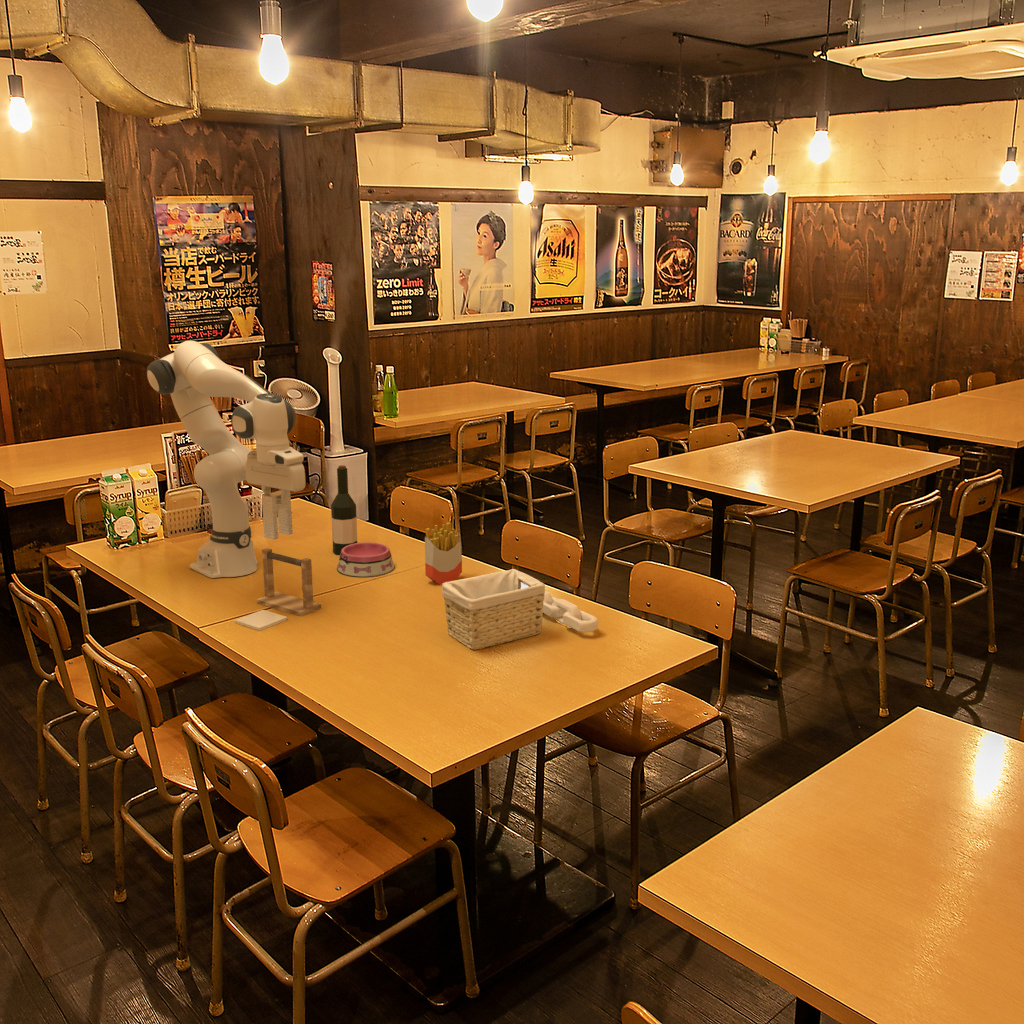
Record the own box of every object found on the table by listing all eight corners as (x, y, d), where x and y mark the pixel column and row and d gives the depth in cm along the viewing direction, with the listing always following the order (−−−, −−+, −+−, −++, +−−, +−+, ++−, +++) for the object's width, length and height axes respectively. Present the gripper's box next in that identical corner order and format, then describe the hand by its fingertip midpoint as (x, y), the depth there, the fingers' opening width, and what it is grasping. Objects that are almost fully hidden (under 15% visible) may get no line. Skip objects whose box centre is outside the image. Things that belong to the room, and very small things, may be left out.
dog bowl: (404, 571, 310) (404, 551, 308) (351, 582, 300) (351, 561, 298) (379, 557, 325) (378, 537, 323) (327, 566, 315) (326, 546, 313)
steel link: (264, 537, 268) (261, 495, 265) (282, 531, 274) (280, 490, 271) (274, 539, 266) (271, 497, 263) (292, 533, 272) (290, 492, 269)
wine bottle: (327, 552, 329) (324, 466, 321) (347, 547, 334) (344, 462, 327) (343, 557, 323) (339, 469, 315) (362, 552, 329) (359, 466, 321)
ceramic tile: (234, 622, 266) (234, 620, 265) (262, 612, 273) (262, 609, 273) (259, 630, 260) (259, 628, 260) (287, 619, 268) (287, 617, 268)
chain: (519, 606, 280) (519, 586, 278) (536, 602, 283) (536, 582, 282) (583, 640, 256) (583, 618, 254) (601, 635, 259) (602, 613, 258)
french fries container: (462, 579, 302) (462, 524, 297) (433, 586, 296) (432, 530, 291) (454, 576, 305) (454, 521, 301) (425, 582, 299) (424, 526, 294)
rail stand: (257, 603, 280) (253, 552, 276) (278, 595, 287) (275, 545, 283) (300, 616, 271) (297, 563, 267) (321, 608, 277) (319, 556, 273)
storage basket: (469, 654, 246) (469, 599, 242) (439, 633, 260) (439, 581, 256) (547, 635, 259) (548, 583, 255) (515, 616, 272) (515, 567, 268)
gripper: (238, 451, 267) (242, 500, 271) (290, 459, 256) (293, 510, 260) (256, 447, 272) (259, 495, 276) (307, 456, 261) (310, 505, 265)
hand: (276, 502), depth 268 cm, fingers closed on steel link, 4 cm apart
